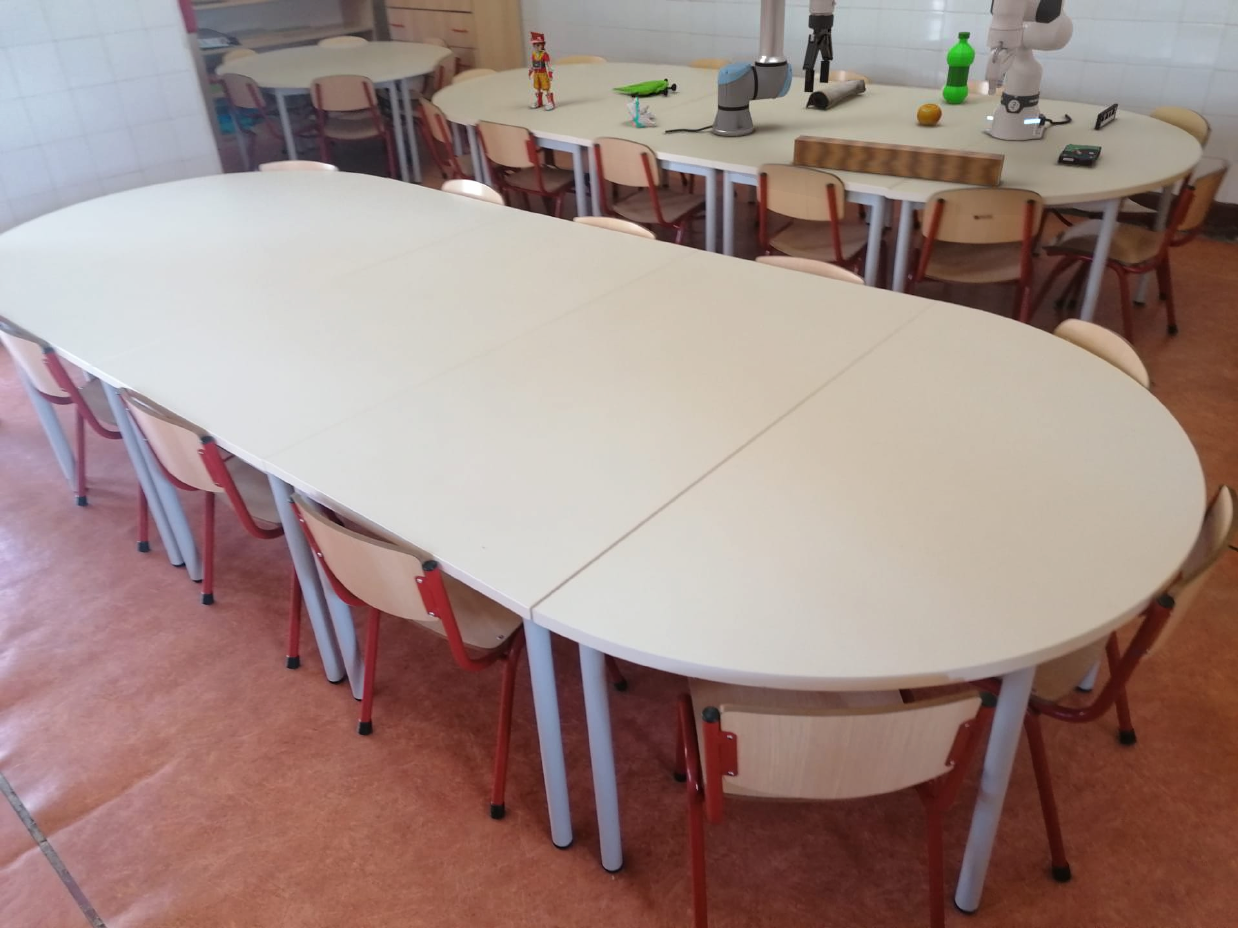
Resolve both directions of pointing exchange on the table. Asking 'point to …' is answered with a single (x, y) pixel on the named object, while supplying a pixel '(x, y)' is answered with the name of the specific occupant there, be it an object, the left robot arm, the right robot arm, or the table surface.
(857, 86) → the rolled mat
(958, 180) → the bar
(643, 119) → the anatomical model
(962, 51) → the plastic bottle
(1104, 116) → the midi keyboard
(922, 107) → the fruit
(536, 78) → the toy
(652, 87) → the toy
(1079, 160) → the disk drive
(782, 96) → the left robot arm
